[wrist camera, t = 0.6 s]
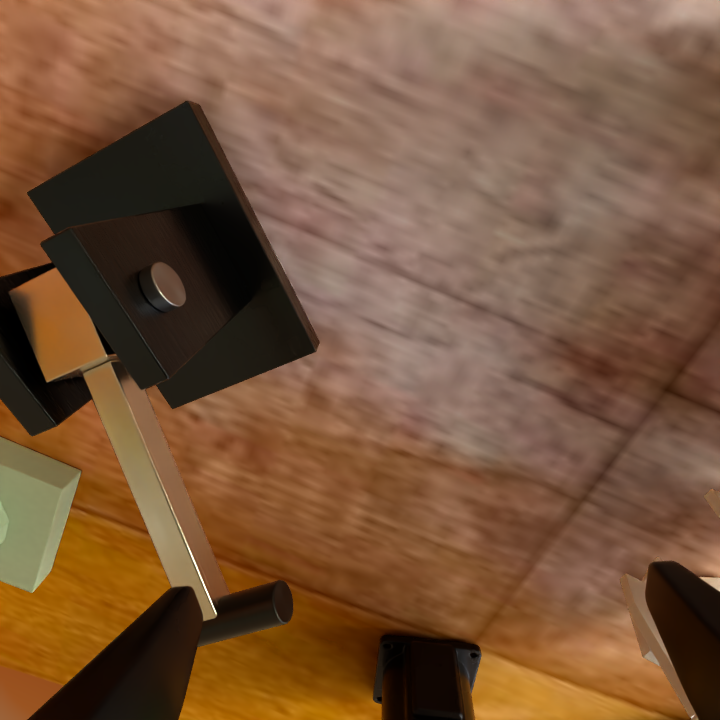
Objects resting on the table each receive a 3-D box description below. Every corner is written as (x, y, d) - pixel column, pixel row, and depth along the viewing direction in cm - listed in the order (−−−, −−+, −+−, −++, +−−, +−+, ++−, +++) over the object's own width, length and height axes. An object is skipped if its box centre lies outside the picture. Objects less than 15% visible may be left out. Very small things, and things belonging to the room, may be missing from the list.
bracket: (320, 342, 22) (274, 456, 13) (182, 398, 23) (62, 531, 15) (199, 104, 18) (25, 45, 9) (45, 190, 20) (-220, 208, 11)
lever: (303, 594, 15) (277, 648, 12) (177, 629, 16) (130, 685, 13) (162, 250, 14) (107, 239, 12) (42, 309, 15) (-30, 310, 13)
